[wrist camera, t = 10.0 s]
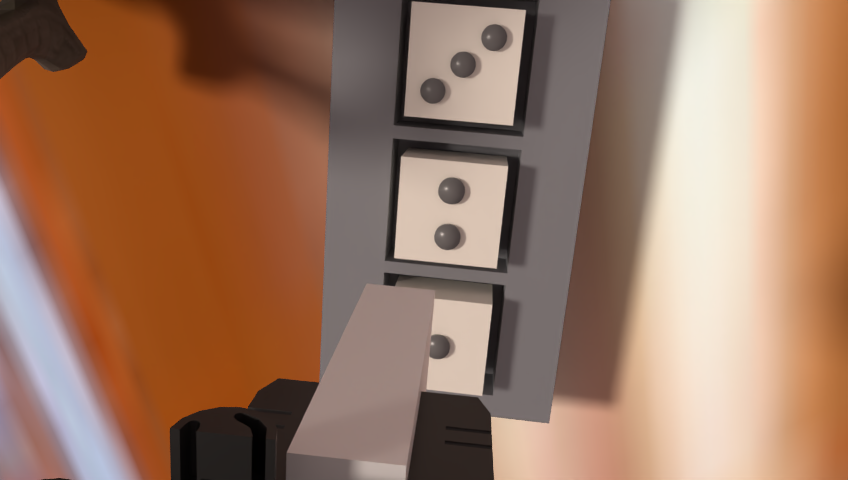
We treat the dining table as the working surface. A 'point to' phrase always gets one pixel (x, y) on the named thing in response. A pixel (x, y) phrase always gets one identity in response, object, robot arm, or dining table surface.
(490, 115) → the tile
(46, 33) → the beer stein
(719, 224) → the dining table surface
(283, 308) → the dining table surface
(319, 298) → the dining table surface
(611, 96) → the dining table surface
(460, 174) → the cream square block
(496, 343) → the grey dice tray
